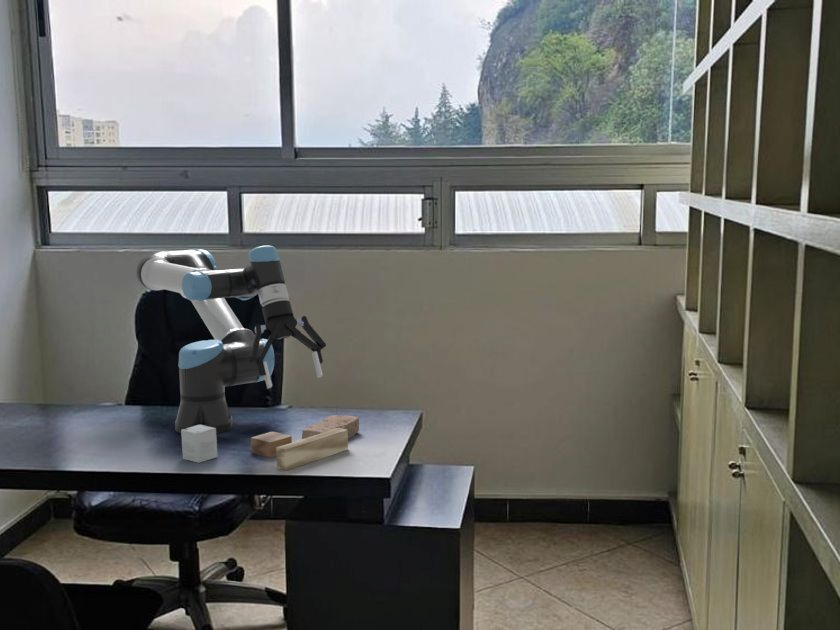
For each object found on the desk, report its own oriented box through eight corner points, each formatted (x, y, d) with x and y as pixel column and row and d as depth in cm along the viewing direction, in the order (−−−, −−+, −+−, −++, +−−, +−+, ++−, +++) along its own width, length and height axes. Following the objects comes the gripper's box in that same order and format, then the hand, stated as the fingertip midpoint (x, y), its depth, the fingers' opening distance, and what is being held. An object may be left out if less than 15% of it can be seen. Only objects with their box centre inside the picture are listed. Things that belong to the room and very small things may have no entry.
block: (251, 453, 218) (250, 437, 218) (272, 446, 224) (272, 431, 223) (270, 458, 214) (270, 442, 213) (291, 451, 219) (291, 436, 219)
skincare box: (218, 457, 214) (216, 427, 213) (197, 463, 210) (196, 433, 209) (202, 453, 218) (200, 423, 217) (181, 459, 213) (180, 429, 212)
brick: (328, 450, 221) (328, 431, 220) (299, 446, 224) (299, 428, 223) (360, 434, 235) (360, 416, 235) (333, 430, 239) (332, 413, 238)
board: (276, 468, 205) (276, 447, 205) (339, 447, 222) (338, 427, 221) (286, 470, 204) (285, 449, 203) (348, 449, 220) (347, 429, 219)
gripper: (231, 307, 223) (251, 389, 219) (324, 291, 233) (344, 369, 229) (226, 315, 230) (245, 394, 226) (316, 300, 240) (336, 375, 236)
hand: (295, 382), depth 228 cm, fingers open, 13 cm apart
